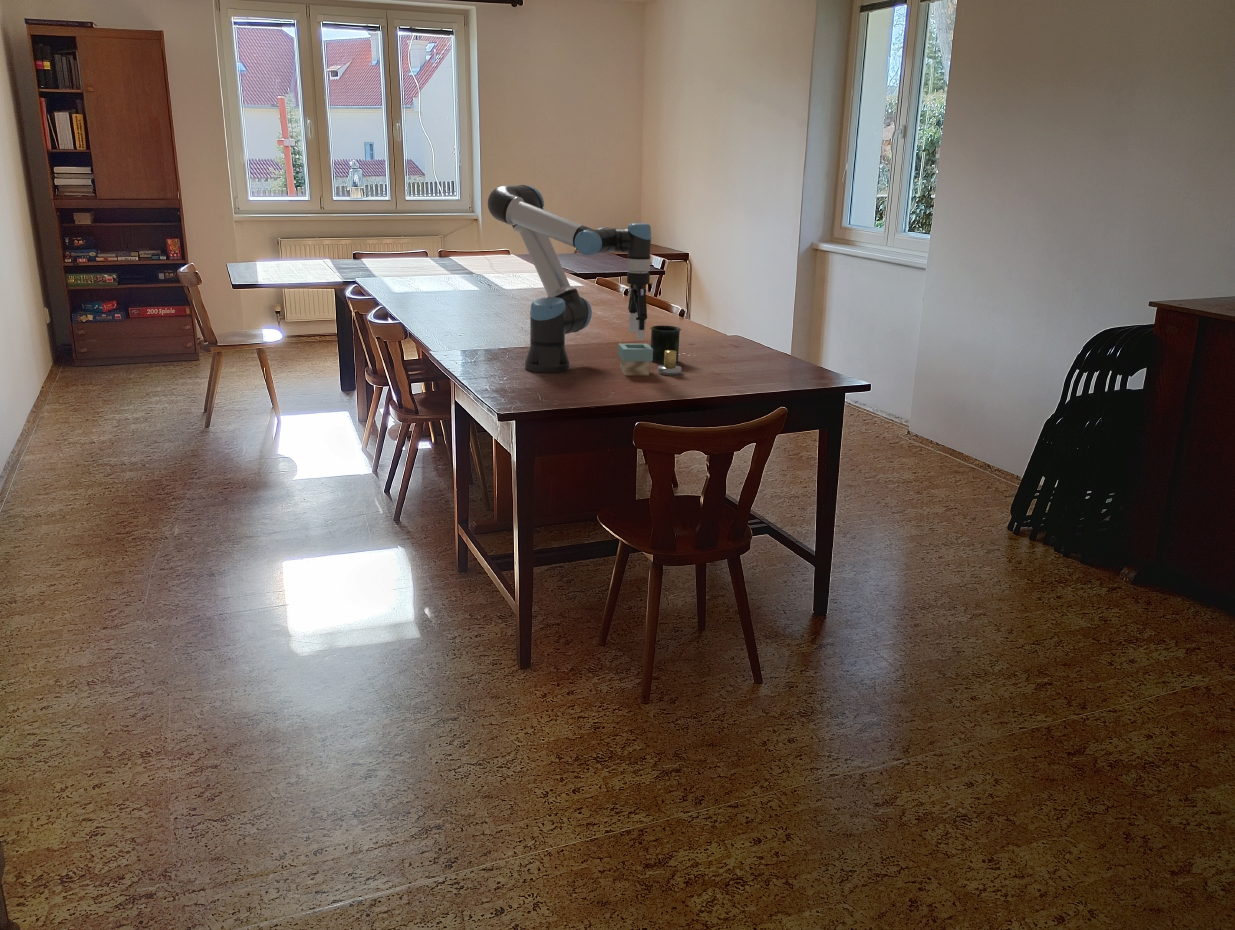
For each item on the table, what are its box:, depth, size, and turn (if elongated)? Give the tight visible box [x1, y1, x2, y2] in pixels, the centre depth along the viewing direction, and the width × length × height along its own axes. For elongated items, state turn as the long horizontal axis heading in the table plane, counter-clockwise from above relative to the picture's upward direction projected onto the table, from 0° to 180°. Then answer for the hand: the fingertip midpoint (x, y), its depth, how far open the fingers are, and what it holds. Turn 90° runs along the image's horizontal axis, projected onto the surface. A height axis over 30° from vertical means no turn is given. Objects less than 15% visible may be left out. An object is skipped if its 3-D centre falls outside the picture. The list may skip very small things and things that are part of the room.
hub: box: [657, 350, 682, 377], centre depth 321 cm, size 8×8×8 cm
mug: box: [650, 324, 682, 364], centre depth 340 cm, size 11×15×12 cm
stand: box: [619, 358, 651, 376], centre depth 320 cm, size 8×8×7 cm
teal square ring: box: [617, 343, 653, 362], centre depth 318 cm, size 10×10×4 cm
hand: (636, 336), depth 317 cm, fingers open, 13 cm apart
